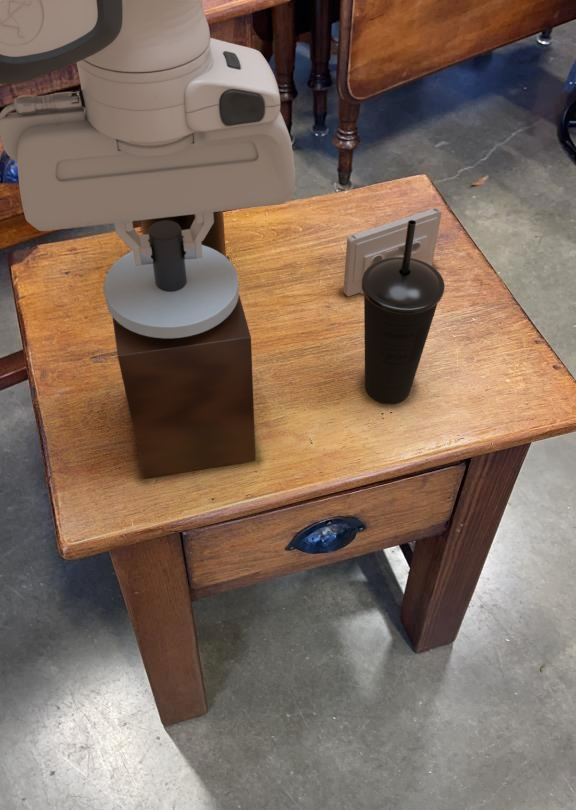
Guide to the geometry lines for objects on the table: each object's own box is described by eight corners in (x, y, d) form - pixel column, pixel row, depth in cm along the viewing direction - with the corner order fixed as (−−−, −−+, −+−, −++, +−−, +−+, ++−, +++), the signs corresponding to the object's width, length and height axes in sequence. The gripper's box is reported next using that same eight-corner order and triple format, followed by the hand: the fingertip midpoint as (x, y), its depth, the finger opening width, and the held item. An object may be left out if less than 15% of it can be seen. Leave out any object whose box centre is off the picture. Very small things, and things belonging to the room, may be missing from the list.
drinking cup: (424, 365, 89) (455, 199, 73) (423, 417, 85) (457, 252, 69) (353, 359, 90) (369, 193, 74) (349, 411, 85) (365, 246, 69)
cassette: (348, 300, 96) (353, 243, 89) (340, 290, 97) (344, 234, 90) (434, 269, 99) (445, 213, 93) (426, 260, 100) (435, 204, 94)
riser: (144, 478, 80) (117, 356, 67) (132, 397, 86) (106, 271, 73) (255, 460, 81) (251, 337, 68) (236, 382, 88) (228, 255, 75)
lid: (111, 347, 66) (98, 283, 61) (100, 261, 72) (87, 197, 67) (249, 328, 67) (248, 265, 62) (226, 245, 74) (223, 182, 69)
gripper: (-10, 124, 53) (39, 298, 64) (303, 94, 55) (298, 266, 67) (-11, 76, 56) (36, 249, 67) (283, 50, 59) (282, 220, 70)
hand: (168, 257), depth 67 cm, fingers closed on lid, 2 cm apart
